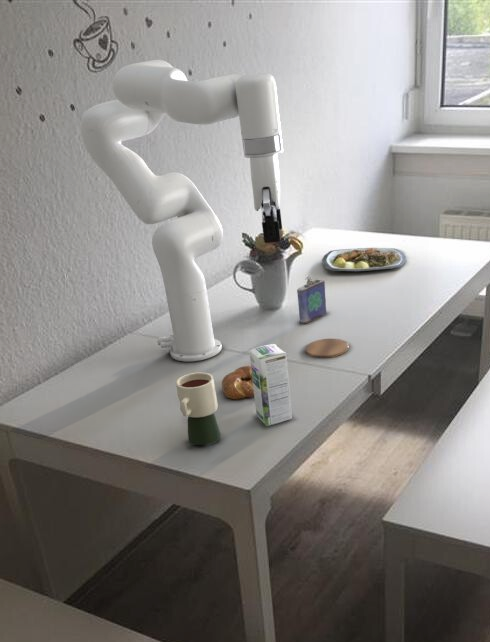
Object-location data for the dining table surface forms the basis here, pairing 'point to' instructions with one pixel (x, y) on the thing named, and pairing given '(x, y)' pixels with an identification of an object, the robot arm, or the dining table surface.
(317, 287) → the flask
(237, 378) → the pretzel
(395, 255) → the meal
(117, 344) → the dining table surface
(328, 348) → the cork coaster
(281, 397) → the syrup box
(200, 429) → the character mug
